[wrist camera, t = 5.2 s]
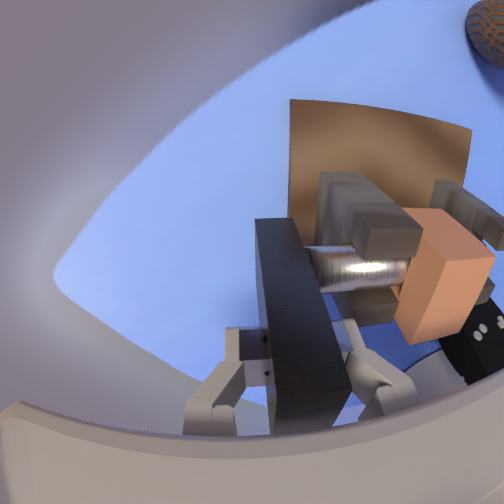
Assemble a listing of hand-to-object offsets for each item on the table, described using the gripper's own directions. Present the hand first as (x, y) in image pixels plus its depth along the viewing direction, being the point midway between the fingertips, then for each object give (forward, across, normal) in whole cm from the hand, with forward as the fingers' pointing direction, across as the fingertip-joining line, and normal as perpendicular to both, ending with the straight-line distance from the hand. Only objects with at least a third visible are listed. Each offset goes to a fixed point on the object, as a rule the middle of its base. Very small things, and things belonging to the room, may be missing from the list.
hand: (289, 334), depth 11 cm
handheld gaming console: (+12, -27, +14) cm, 33 cm away
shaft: (+6, -7, 0) cm, 9 cm away
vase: (+12, -20, -18) cm, 29 cm away
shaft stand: (+12, -10, 0) cm, 16 cm away
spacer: (+6, -9, 0) cm, 11 cm away
